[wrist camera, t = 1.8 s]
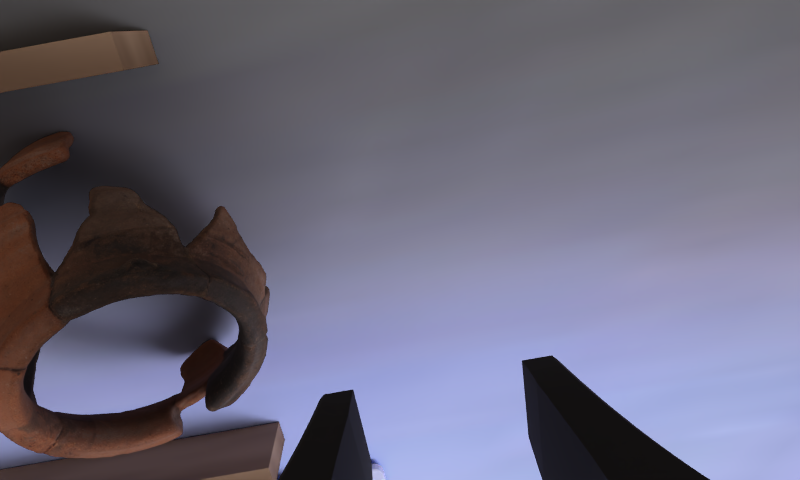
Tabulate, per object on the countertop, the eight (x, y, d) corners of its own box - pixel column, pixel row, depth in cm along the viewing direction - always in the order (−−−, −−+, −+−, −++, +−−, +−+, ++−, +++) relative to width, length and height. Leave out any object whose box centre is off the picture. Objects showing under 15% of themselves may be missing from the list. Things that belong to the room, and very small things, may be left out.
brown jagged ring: (117, 53, 17) (160, 175, 11) (271, 224, 24) (345, 351, 18) (-212, 272, 16) (-340, 522, 10) (50, 383, 23) (57, 567, 17)
